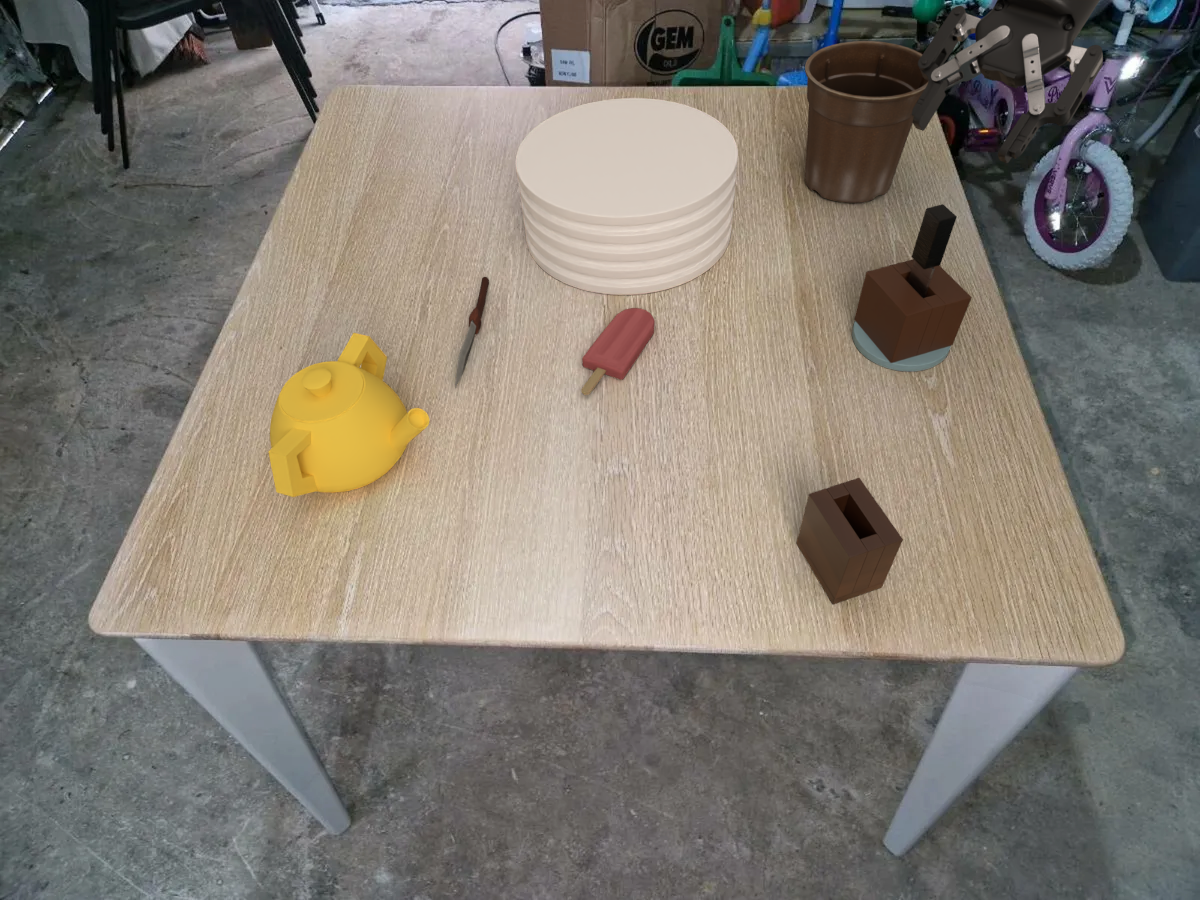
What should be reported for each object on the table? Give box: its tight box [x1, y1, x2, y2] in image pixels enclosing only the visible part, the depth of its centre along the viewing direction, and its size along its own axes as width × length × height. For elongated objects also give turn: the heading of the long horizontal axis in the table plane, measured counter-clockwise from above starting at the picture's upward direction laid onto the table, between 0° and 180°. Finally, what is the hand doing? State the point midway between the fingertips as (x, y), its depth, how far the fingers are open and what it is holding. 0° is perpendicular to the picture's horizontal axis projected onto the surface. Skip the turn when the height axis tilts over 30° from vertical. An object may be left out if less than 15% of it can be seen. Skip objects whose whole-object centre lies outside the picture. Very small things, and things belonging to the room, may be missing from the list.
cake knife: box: [908, 203, 958, 298], centre depth 86 cm, size 2×3×16 cm, turn 19°
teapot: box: [267, 332, 431, 498], centre depth 81 cm, size 20×18×11 cm
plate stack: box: [515, 97, 739, 296], centre depth 105 cm, size 28×28×12 cm
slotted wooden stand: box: [851, 258, 972, 373], centre depth 90 cm, size 11×11×8 cm
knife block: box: [795, 477, 904, 605], centre depth 71 cm, size 5×7×8 cm
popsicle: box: [580, 307, 656, 396], centre depth 93 cm, size 5×2×15 cm
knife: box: [454, 276, 490, 389], centre depth 95 cm, size 18×2×3 cm, turn 173°
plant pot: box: [804, 40, 928, 204], centre depth 108 cm, size 16×16×16 cm
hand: (958, 142), depth 73 cm, fingers open, 8 cm apart
